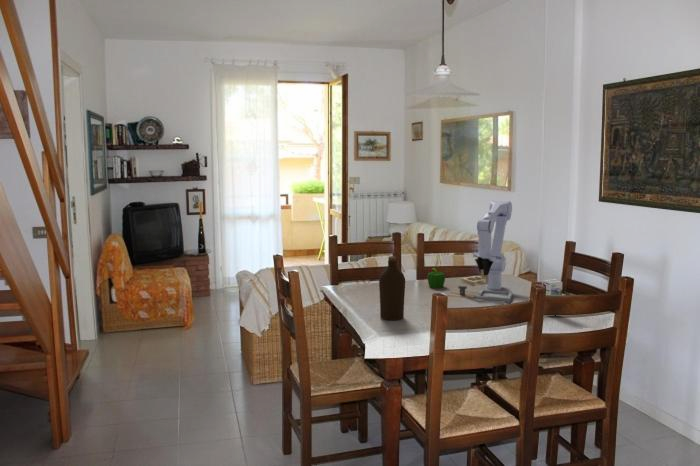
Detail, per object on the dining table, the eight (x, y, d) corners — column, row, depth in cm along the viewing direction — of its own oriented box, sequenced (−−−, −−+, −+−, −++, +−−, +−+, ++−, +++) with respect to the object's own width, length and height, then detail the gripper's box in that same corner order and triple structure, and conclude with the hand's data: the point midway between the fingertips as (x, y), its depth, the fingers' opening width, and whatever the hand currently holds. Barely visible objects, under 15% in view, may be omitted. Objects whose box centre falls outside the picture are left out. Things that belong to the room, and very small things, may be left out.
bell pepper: (447, 289, 303) (448, 269, 302) (433, 291, 300) (433, 270, 299) (439, 286, 311) (439, 266, 309) (424, 287, 308) (425, 267, 306)
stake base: (452, 292, 297) (452, 282, 296) (477, 294, 293) (477, 283, 292) (447, 298, 285) (447, 287, 285) (473, 299, 281) (474, 289, 281)
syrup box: (549, 317, 252) (550, 282, 250) (541, 313, 257) (542, 279, 255) (561, 316, 253) (563, 281, 251) (553, 312, 259) (554, 278, 257)
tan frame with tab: (480, 279, 292) (480, 267, 291) (493, 282, 284) (492, 270, 283) (460, 282, 287) (460, 271, 286) (472, 286, 279) (472, 274, 278)
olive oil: (393, 322, 245) (394, 260, 241) (373, 317, 252) (373, 257, 249) (410, 317, 252) (410, 256, 249) (390, 312, 260) (390, 253, 256)
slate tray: (480, 293, 294) (480, 289, 294) (512, 295, 289) (512, 291, 289) (476, 300, 280) (476, 296, 280) (509, 302, 276) (509, 298, 275)
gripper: (468, 243, 290) (467, 272, 292) (487, 248, 277) (487, 278, 279) (480, 242, 293) (479, 271, 295) (500, 247, 280) (499, 276, 282)
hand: (484, 274), depth 287 cm, fingers closed on tan frame with tab, 2 cm apart
